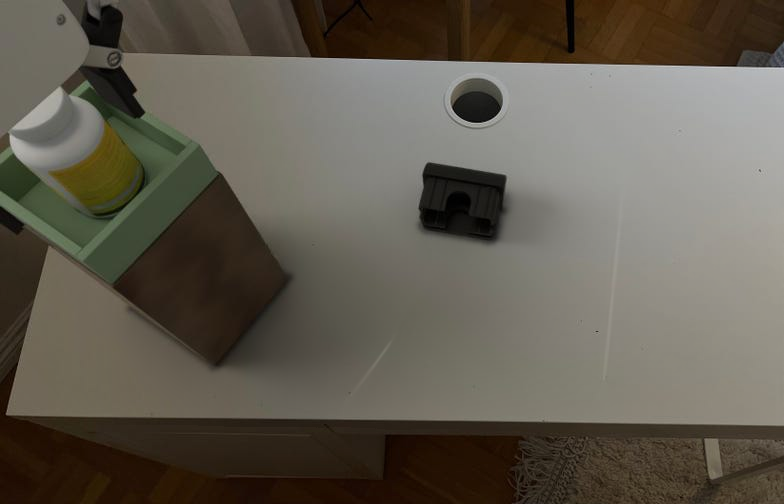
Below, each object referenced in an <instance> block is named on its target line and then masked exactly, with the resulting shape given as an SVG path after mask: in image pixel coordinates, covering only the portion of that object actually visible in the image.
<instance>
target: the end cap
mask: <svg viewBox="0 0 784 504" xmlns="http://www.w3.org/2000/svg"><path fill="white" fill-rule="evenodd" d="M421 176H422V186H423V188H422V191H421V196H420V199H419V204H418V208H417V209H418V211H419V216H418V218H419V219H420V222H421V224H422V227H423V229H425V230H427V231H433V232H438V233H445V234H451V235H457V236H463V237H469V238H474V239H481V240H486V241H490V240H492V239H493V238H494V233H495V232H496V230H497V225H498V218H499V213H500V212H502V211H503V206H504V201H505V200H504V199H505V194H506V193H505V192H506V186H507V179H508V177H507V175H506V174H502V173H497V172H490V171H484V170H479V169H474V168H473V169H472V168H467V167H462V166H455V165H449V164H443V163H437V162H430V161H429V162H426V164H425V165H424V168H423V170H422V174H421Z"/></svg>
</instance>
